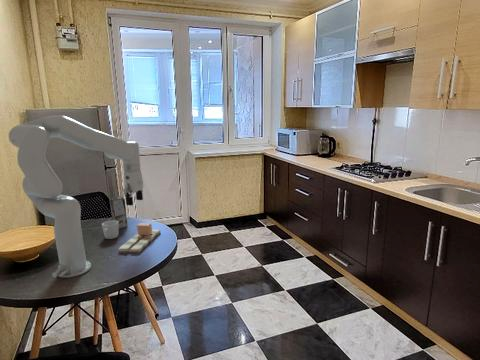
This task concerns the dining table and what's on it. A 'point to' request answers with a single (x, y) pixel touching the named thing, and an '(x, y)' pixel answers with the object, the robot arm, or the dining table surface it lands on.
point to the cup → (110, 229)
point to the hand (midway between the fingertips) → (134, 202)
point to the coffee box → (118, 210)
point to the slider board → (138, 242)
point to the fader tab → (144, 229)
